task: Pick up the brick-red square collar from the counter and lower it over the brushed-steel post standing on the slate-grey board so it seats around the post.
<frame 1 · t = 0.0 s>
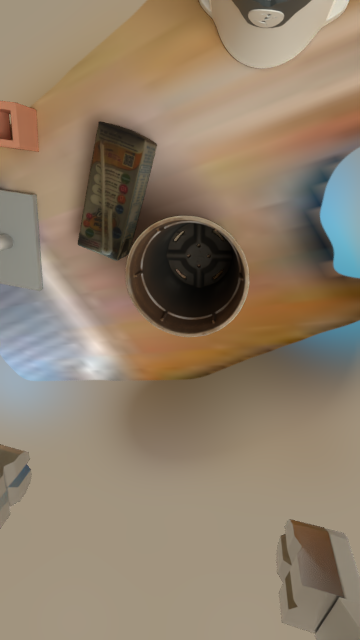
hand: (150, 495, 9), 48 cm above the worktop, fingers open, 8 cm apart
beverage carton: (122, 195, 53), on the worktop
collar: (21, 129, 52), on the worktop
plant pot: (200, 255, 55), on the worktop
post board: (11, 240, 60), on the worktop
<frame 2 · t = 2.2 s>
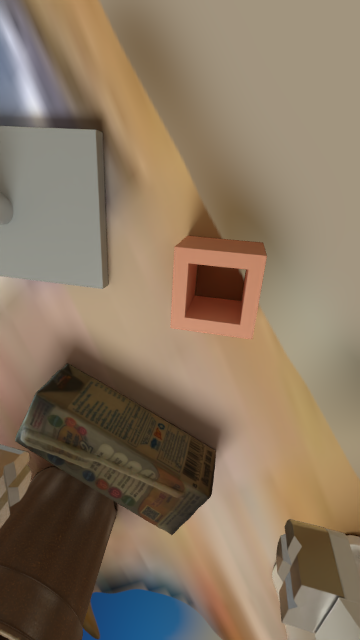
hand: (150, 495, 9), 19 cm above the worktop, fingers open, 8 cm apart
beverage carton: (130, 424, 35), on the worktop
collar: (220, 275, 26), on the worktop
plant pot: (75, 497, 42), on the worktop
post board: (9, 207, 27), on the worktop
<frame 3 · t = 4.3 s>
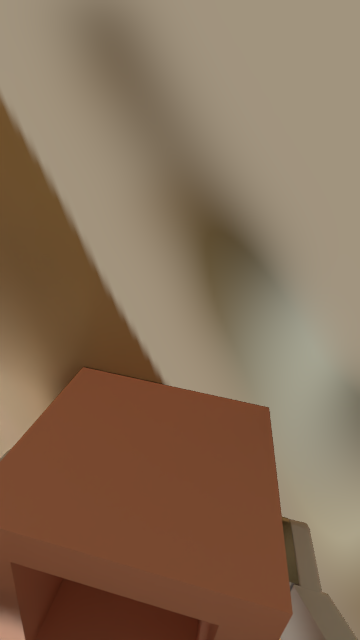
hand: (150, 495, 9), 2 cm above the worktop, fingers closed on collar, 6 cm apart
collar: (163, 455, 11), on the worktop, touching gripper
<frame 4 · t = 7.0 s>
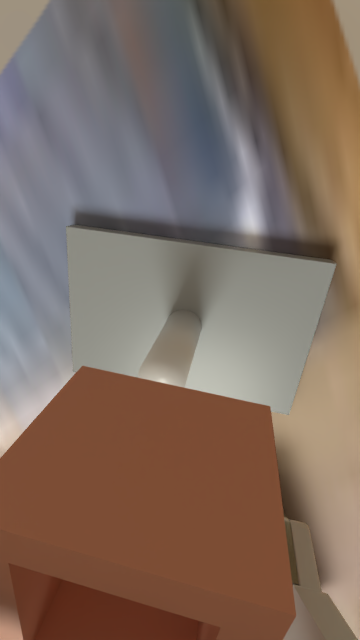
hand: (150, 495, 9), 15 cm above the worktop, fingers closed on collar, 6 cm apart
collar: (163, 454, 11), point 14 cm above the worktop, touching gripper
post board: (186, 319, 24), on the worktop
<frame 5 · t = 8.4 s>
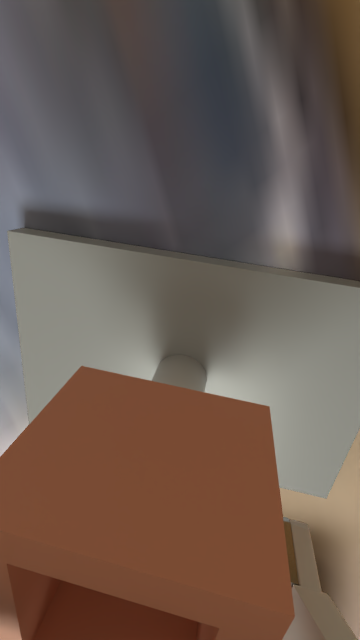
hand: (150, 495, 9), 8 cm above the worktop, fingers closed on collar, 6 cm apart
collar: (162, 454, 11), point 6 cm above the worktop, touching gripper
post board: (185, 364, 17), on the worktop
when the fingers open (4 cm above the worktop, at t = 9.6 s): collar drops 2 cm, resting on post board.
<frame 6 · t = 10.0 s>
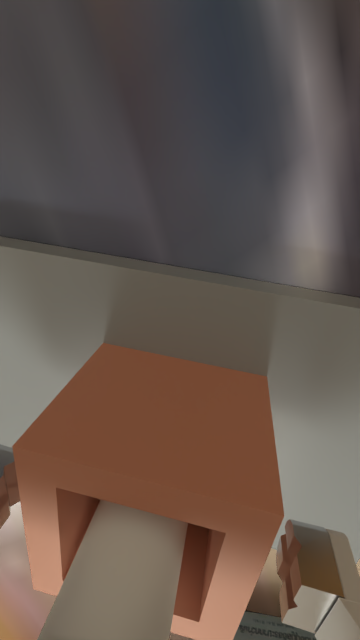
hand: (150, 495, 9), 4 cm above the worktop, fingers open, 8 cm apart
collar: (173, 422, 12), point 1 cm above the worktop, touching post board
post board: (176, 403, 13), on the worktop
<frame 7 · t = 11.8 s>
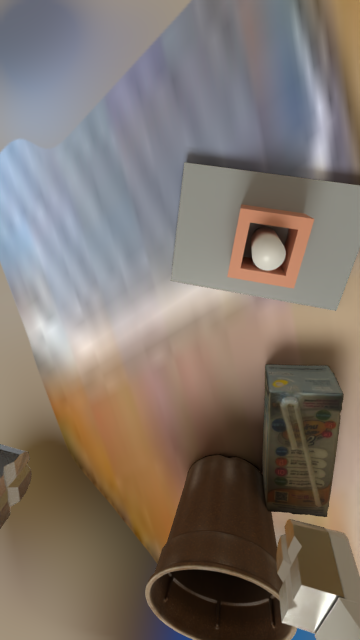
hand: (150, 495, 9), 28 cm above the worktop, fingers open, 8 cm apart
beverage carton: (292, 422, 41), on the worktop
collar: (264, 240, 31), point 1 cm above the worktop, touching post board
plant pot: (225, 482, 48), on the worktop
post board: (263, 238, 32), on the worktop
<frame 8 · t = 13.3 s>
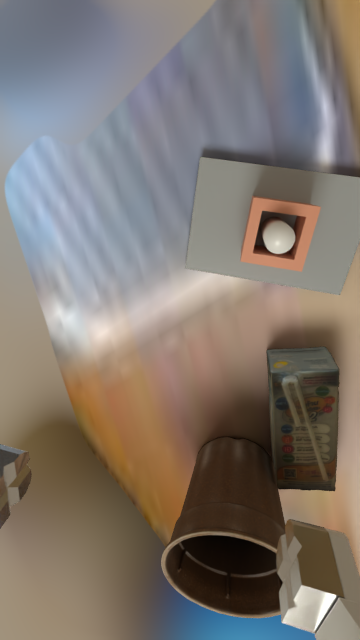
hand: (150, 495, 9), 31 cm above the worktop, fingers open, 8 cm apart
beverage carton: (296, 404, 44), on the worktop
collar: (273, 228, 34), point 1 cm above the worktop, touching post board
plant pot: (233, 464, 50), on the worktop
post board: (272, 227, 35), on the worktop
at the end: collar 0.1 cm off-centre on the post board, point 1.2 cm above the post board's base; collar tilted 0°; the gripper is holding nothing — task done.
